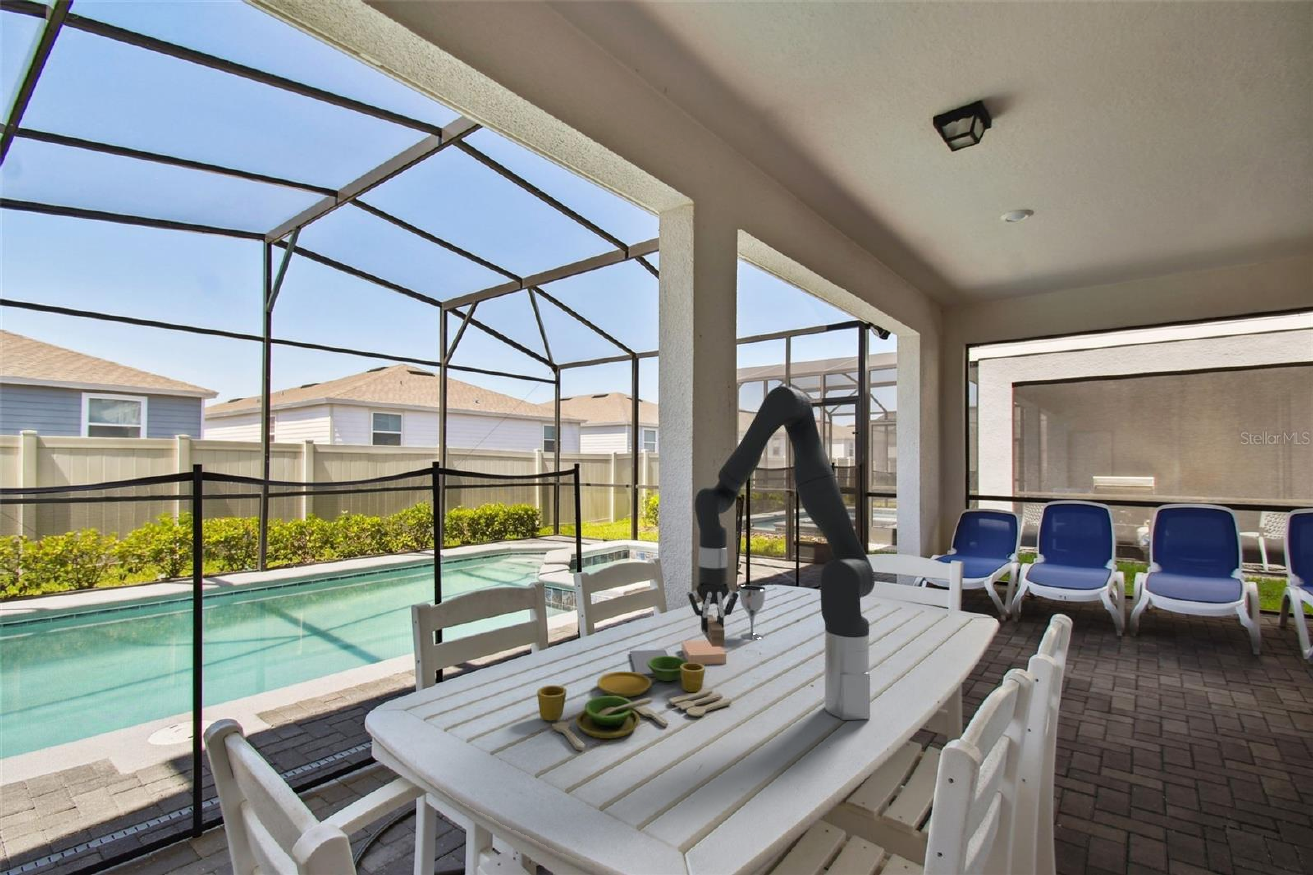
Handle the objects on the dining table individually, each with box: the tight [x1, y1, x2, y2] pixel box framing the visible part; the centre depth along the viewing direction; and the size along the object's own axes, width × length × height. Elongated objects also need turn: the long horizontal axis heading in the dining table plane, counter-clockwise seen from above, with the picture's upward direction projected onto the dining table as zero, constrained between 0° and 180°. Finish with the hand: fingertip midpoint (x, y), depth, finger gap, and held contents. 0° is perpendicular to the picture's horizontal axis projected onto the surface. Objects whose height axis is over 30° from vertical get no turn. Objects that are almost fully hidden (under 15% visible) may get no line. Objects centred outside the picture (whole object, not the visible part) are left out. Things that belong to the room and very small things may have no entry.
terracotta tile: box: [681, 640, 727, 666], centre depth 163 cm, size 3×10×12 cm
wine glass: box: [738, 584, 766, 641], centre depth 183 cm, size 8×8×15 cm
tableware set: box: [536, 655, 732, 751], centre depth 130 cm, size 41×28×6 cm
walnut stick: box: [700, 614, 725, 647], centre depth 153 cm, size 14×3×4 cm, turn 7°
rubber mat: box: [629, 649, 669, 678], centre depth 156 cm, size 18×10×1 cm, turn 7°
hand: (712, 631), depth 153 cm, fingers closed on walnut stick, 3 cm apart
